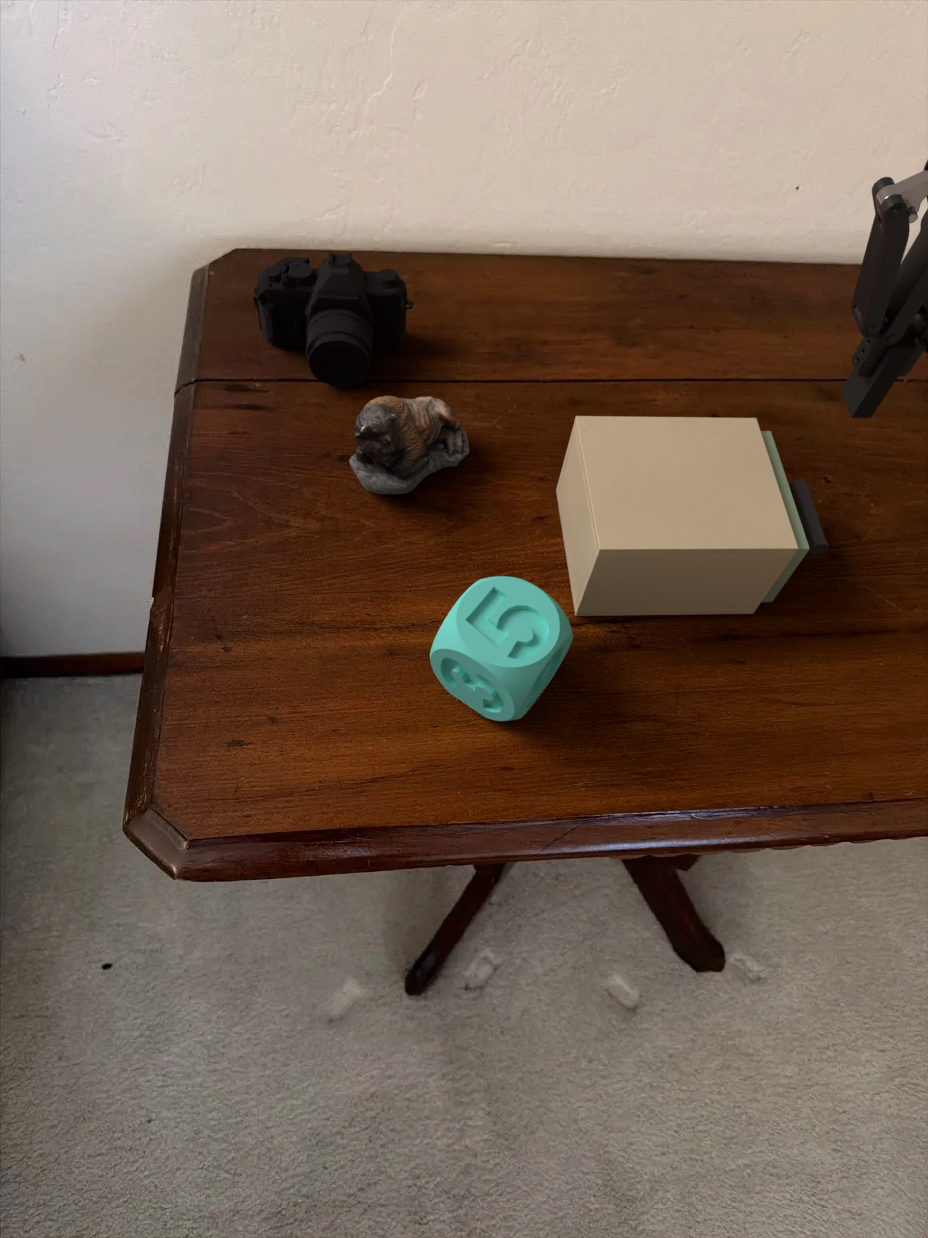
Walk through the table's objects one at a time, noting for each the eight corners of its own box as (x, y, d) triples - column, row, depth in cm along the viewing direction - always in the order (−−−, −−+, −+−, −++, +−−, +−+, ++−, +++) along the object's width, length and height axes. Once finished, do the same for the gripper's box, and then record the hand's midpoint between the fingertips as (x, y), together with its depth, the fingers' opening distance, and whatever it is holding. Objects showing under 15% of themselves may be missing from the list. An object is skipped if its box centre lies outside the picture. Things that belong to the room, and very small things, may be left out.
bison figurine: (430, 417, 84) (436, 334, 76) (483, 459, 82) (496, 378, 74) (336, 483, 79) (331, 401, 71) (390, 529, 77) (392, 451, 68)
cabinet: (719, 490, 83) (756, 417, 74) (753, 614, 76) (798, 548, 67) (555, 490, 81) (575, 415, 73) (575, 616, 74) (599, 549, 66)
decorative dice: (482, 613, 73) (493, 557, 67) (563, 665, 71) (583, 613, 65) (425, 681, 70) (431, 629, 63) (509, 737, 68) (524, 690, 61)
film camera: (253, 387, 84) (241, 310, 77) (262, 318, 89) (251, 240, 82) (411, 393, 86) (415, 318, 78) (411, 325, 91) (415, 249, 83)
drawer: (780, 489, 82) (815, 430, 75) (816, 601, 76) (858, 548, 69) (586, 489, 80) (605, 428, 74) (606, 604, 74) (629, 549, 67)
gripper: (975, 99, 42) (783, 442, 62) (1225, 110, 43) (957, 443, 63) (922, 19, 46) (757, 366, 66) (1153, 31, 47) (922, 368, 67)
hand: (855, 403), depth 64 cm, fingers closed
